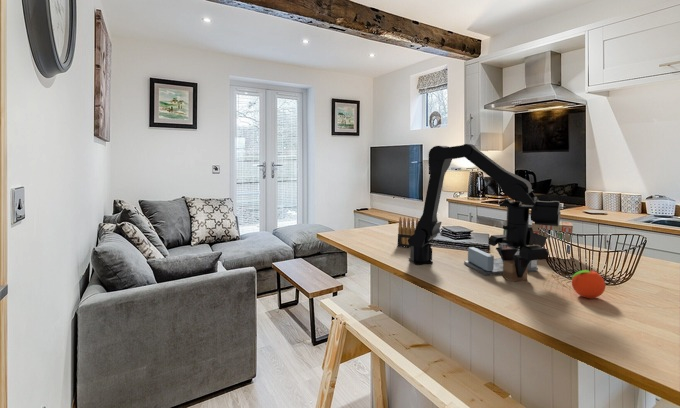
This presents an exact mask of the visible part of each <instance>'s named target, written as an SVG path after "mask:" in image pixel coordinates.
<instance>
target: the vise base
mask: <svg viewBox="0 0 680 408" xmlns="http://www.w3.org/2000/svg"><path fill="white" fill-rule="evenodd" d="M519 248H520V247H519ZM519 253H520V251H517V252H516V253H515V255H519ZM463 261H464V262H463V264H464V265H465V266H467V267H469V268H470V269H472V270H474V271H476V272H477V273H480V274H481V275H483V276H486V277H487V276H497V275H503V260H502V258H501V257H499V258H498V257H497V258H494V265H493V271H486V270H484V269H482V268H481V267H479V266H477V265H475V264H473V263H471V262H469V261H468V260H463ZM538 271H539V268H538V260H531V261H530V262H529V264H528V270H527V273H531V272H538Z"/></svg>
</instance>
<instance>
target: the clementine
mask: <svg viewBox="0 0 680 408" xmlns="http://www.w3.org/2000/svg"><path fill="white" fill-rule="evenodd" d="M570 280H571V285H572V288H573V290H574V291H575V292H576V294H578V295H579V296H580V297H583V298H587V299H595V298H599V297H600V296H602V294H603V293H604V292H605V290H606V281H605V279H604V278H603V277H602V276H601V274H599V273H598V272H597V271H594V270H591V269H583V270H582V269H581V270H578V271H577V272H575V273H574V274H573V275H572V277H571V278H570Z"/></svg>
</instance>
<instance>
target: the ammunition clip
mask: <svg viewBox="0 0 680 408" xmlns="http://www.w3.org/2000/svg"><path fill="white" fill-rule="evenodd" d="M418 221H419V218H416V220H414V217H413V218H411V219H410V217H407V220H406V217H403V220H402V217H401V216H400V217H399V218H398V228H397V229H398V232H397V233H398V234H397V245H398V246H397V245H396V246H397V247H400V246H405V247H404V248H408V247H410V246H409V243H408V239H409V238H410V237H411V236H412V235H413V234H414V232H415V229H416V226H417V223H418Z"/></svg>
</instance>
